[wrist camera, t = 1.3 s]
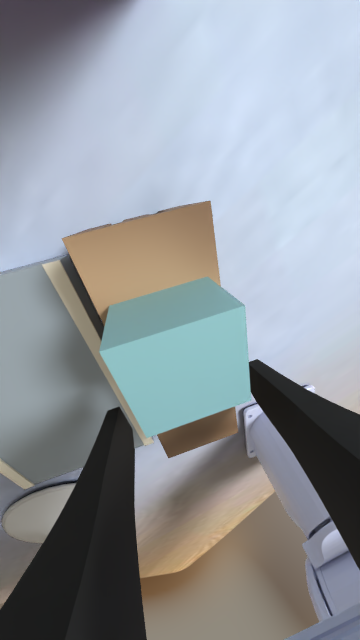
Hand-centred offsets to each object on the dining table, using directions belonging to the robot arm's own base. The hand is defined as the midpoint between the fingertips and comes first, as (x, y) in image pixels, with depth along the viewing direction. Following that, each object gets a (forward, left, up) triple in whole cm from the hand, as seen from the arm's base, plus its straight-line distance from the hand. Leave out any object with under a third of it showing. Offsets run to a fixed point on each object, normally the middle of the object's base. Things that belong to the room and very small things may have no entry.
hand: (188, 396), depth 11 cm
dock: (0, +9, -5) cm, 11 cm away
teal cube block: (+4, 0, 0) cm, 4 cm away
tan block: (+2, 0, -5) cm, 5 cm away
